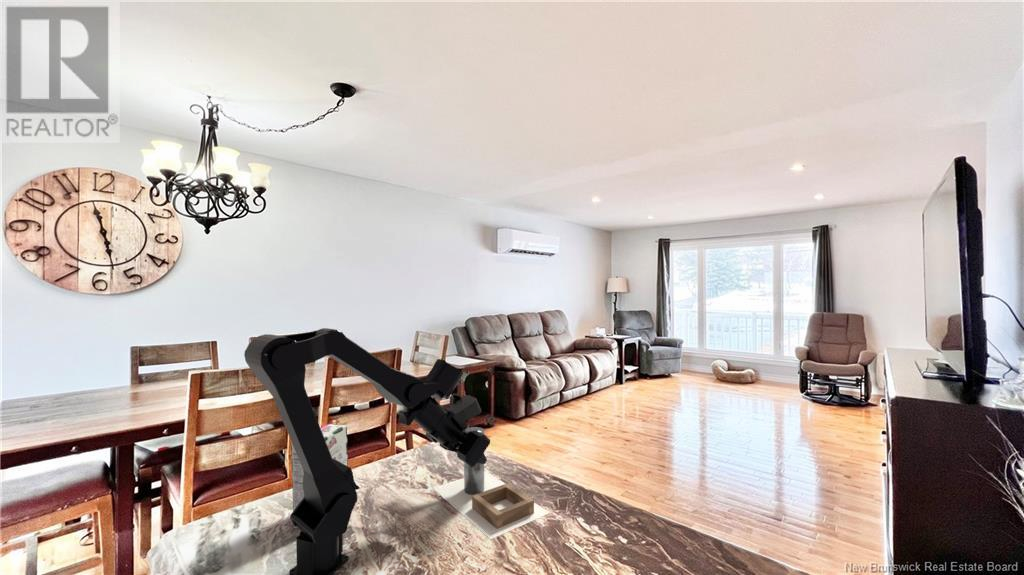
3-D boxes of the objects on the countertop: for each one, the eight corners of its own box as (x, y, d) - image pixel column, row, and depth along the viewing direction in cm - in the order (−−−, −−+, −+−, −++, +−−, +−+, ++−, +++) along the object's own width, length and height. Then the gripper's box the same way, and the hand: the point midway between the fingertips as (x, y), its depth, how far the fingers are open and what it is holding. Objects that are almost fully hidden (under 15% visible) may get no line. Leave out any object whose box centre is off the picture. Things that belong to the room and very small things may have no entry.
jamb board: (549, 517, 81) (549, 512, 81) (490, 544, 73) (490, 539, 73) (485, 474, 100) (485, 470, 100) (432, 492, 91) (432, 488, 91)
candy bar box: (328, 499, 89) (327, 422, 89) (349, 501, 88) (348, 424, 88) (290, 529, 78) (289, 442, 78) (314, 532, 77) (313, 444, 77)
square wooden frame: (534, 513, 81) (533, 500, 81) (497, 529, 76) (497, 515, 76) (507, 494, 88) (507, 483, 88) (472, 508, 83) (472, 495, 83)
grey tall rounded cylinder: (479, 496, 88) (478, 435, 87) (460, 492, 89) (460, 432, 89) (487, 486, 92) (487, 428, 92) (469, 483, 93) (469, 426, 93)
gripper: (481, 395, 80) (526, 439, 87) (438, 378, 95) (478, 416, 102) (445, 445, 76) (495, 487, 82) (405, 419, 91) (450, 456, 97)
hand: (479, 458), depth 91 cm, fingers closed on grey tall rounded cylinder, 4 cm apart
